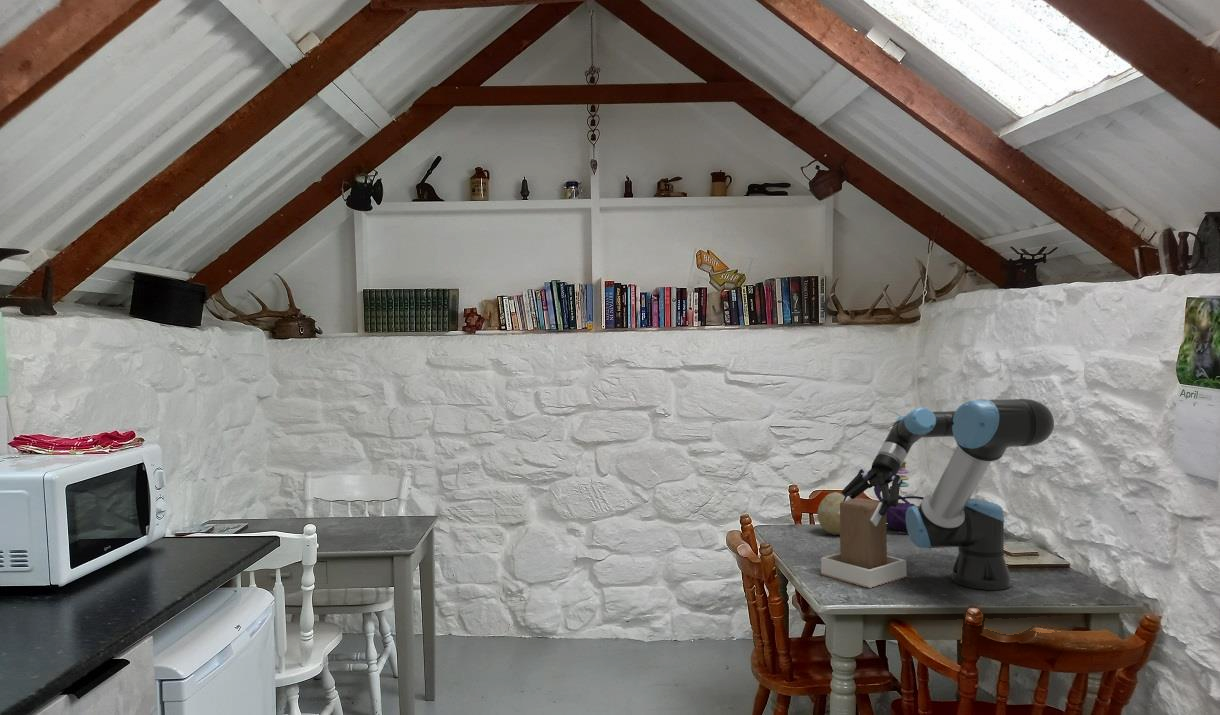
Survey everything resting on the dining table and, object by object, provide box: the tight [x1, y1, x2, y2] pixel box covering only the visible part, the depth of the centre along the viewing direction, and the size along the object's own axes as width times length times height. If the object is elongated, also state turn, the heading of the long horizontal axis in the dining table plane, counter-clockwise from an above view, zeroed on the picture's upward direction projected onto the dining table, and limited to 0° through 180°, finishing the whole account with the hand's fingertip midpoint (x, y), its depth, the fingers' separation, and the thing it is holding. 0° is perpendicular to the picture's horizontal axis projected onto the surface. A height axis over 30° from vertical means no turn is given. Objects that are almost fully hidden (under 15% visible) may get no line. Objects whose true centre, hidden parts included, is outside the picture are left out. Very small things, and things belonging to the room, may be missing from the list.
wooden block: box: [839, 497, 888, 570], centre depth 226 cm, size 10×10×20 cm
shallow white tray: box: [820, 552, 907, 589], centre depth 226 cm, size 17×17×5 cm
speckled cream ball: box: [817, 491, 845, 536], centre depth 275 cm, size 13×13×15 cm
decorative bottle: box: [873, 460, 925, 532], centre depth 280 cm, size 22×21×25 cm
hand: (856, 519), depth 224 cm, fingers closed on wooden block, 10 cm apart
